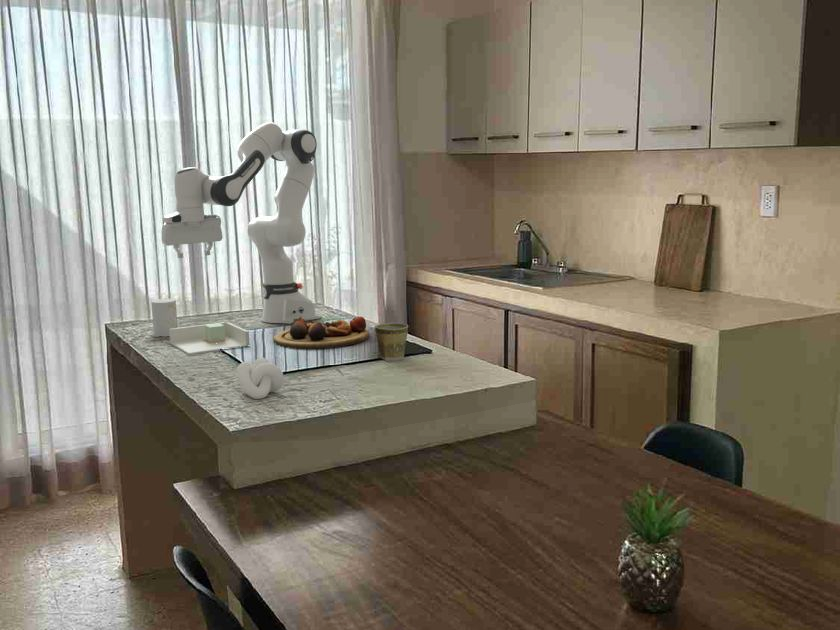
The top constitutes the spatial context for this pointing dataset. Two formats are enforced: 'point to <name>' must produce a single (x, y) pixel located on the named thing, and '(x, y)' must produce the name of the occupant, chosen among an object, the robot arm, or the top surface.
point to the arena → (195, 340)
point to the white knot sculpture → (259, 378)
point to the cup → (164, 316)
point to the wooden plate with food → (322, 334)
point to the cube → (215, 332)
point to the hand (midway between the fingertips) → (194, 256)
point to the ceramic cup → (391, 340)
